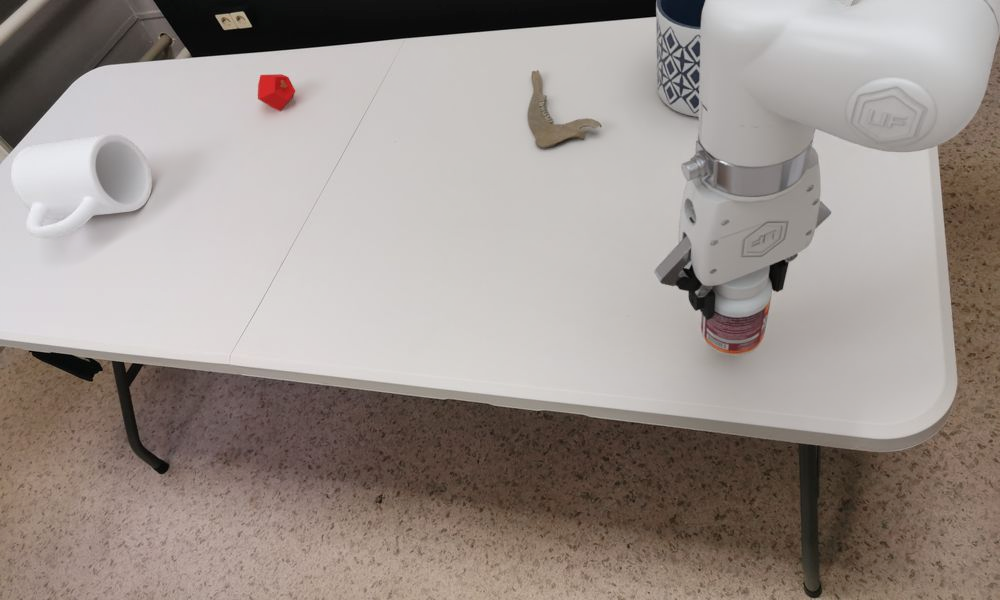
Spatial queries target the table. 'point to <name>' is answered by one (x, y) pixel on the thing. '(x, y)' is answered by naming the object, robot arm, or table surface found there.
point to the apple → (275, 90)
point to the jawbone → (542, 121)
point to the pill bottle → (739, 314)
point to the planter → (679, 53)
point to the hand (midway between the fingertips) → (736, 292)
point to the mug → (79, 181)
